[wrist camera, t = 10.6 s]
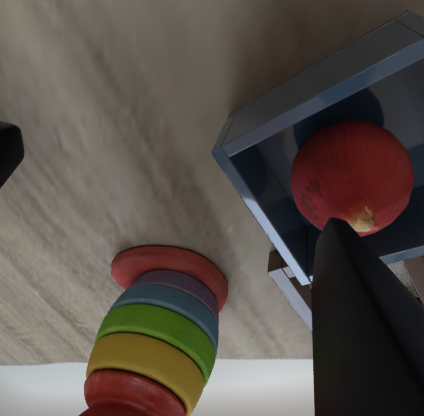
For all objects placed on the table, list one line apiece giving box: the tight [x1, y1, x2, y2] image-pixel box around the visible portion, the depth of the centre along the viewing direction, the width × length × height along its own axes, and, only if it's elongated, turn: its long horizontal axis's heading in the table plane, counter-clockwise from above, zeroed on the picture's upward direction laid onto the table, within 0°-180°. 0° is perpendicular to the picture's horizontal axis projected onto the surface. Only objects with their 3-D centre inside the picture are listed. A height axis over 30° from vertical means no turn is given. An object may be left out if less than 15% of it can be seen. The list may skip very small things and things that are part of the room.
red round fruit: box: [290, 120, 415, 237], centre depth 17 cm, size 6×6×8 cm
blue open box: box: [211, 10, 424, 286], centre depth 18 cm, size 10×10×6 cm
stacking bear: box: [79, 246, 228, 416], centre depth 25 cm, size 11×10×18 cm
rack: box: [267, 250, 424, 332], centre depth 26 cm, size 10×10×2 cm
